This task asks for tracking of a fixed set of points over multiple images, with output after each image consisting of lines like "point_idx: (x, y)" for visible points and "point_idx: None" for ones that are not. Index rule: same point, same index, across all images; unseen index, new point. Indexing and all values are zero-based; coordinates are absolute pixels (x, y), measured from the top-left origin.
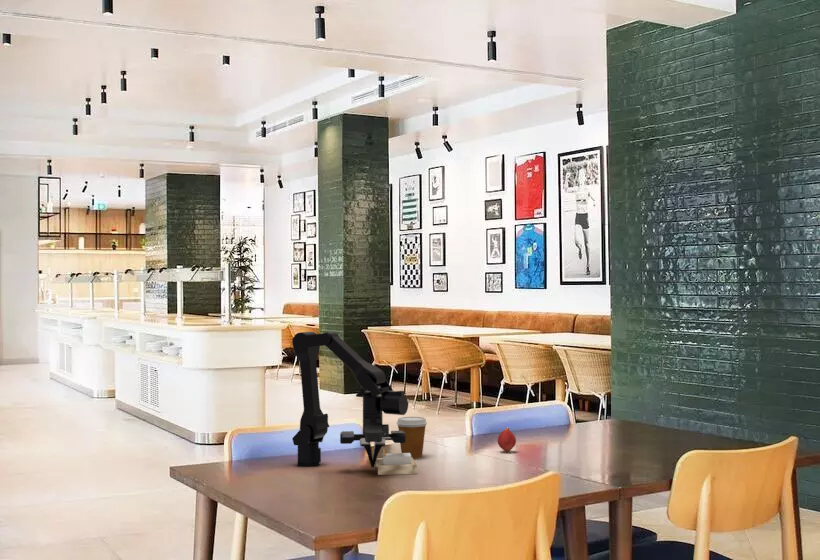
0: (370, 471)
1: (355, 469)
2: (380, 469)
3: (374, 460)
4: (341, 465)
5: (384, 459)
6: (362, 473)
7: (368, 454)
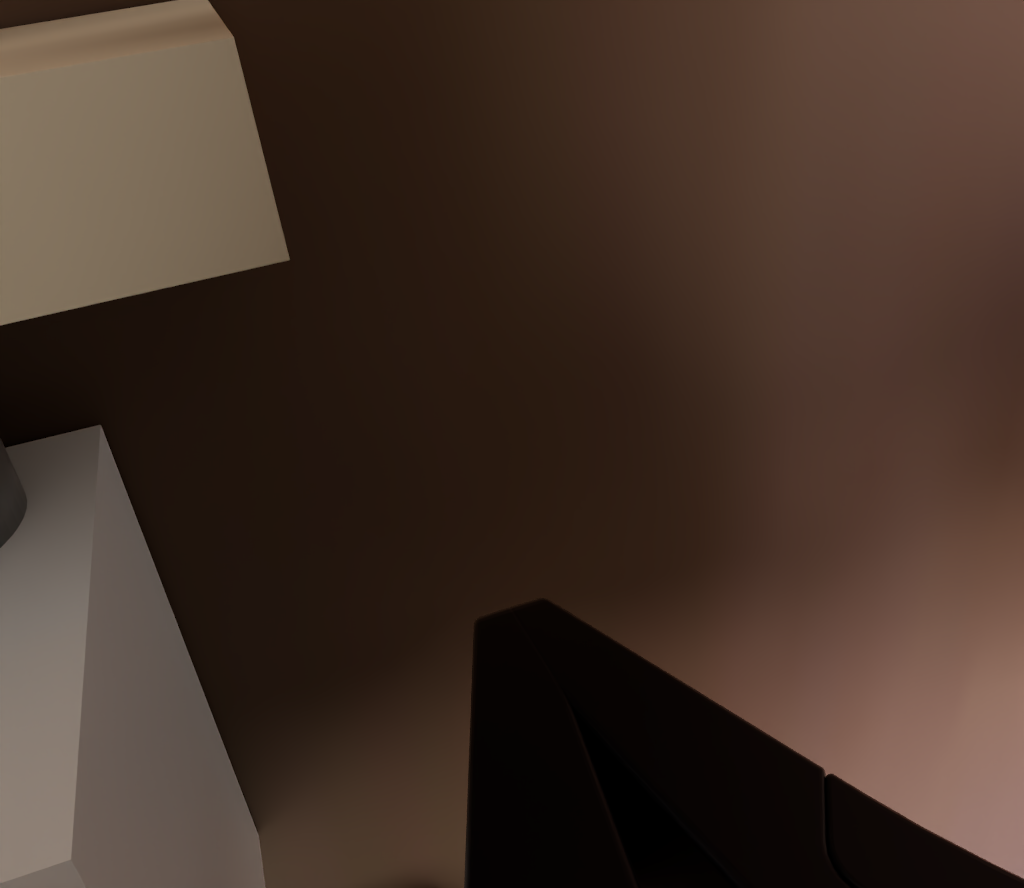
0: (528, 505)
1: (852, 628)
2: (99, 41)
3: (522, 743)
4: (1020, 838)
5: (26, 756)
6: (731, 210)
7: (882, 833)
